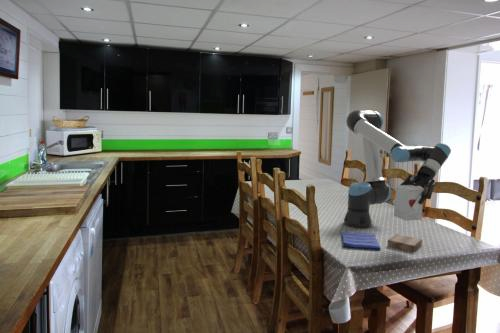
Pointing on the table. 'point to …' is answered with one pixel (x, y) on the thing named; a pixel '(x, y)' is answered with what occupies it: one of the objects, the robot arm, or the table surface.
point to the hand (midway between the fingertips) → (403, 206)
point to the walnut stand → (405, 242)
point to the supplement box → (407, 202)
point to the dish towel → (359, 240)
